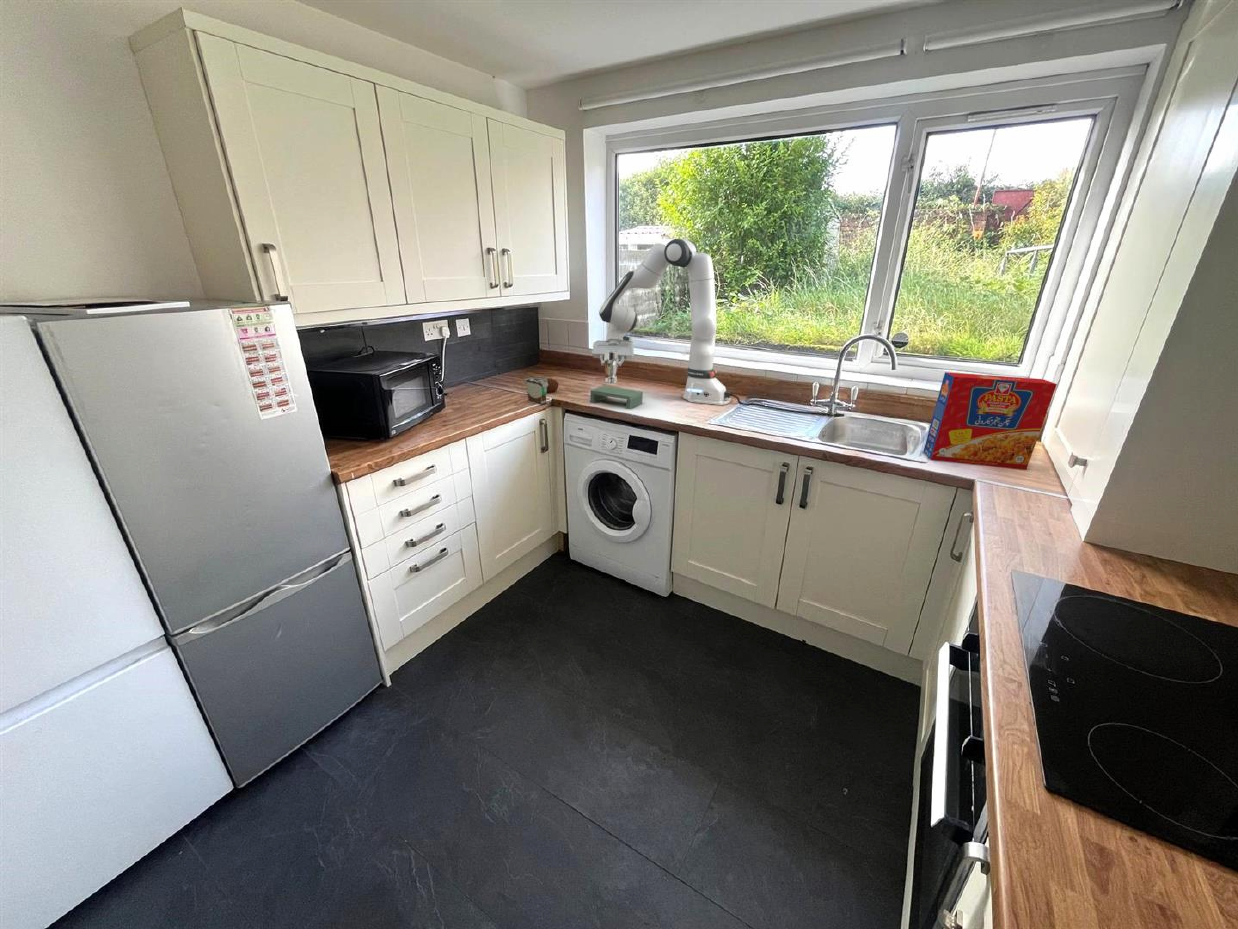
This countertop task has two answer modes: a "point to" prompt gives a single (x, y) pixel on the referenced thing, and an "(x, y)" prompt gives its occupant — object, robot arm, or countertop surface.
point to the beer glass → (611, 366)
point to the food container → (536, 390)
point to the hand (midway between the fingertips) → (611, 365)
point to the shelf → (617, 395)
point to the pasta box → (988, 419)
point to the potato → (552, 385)
